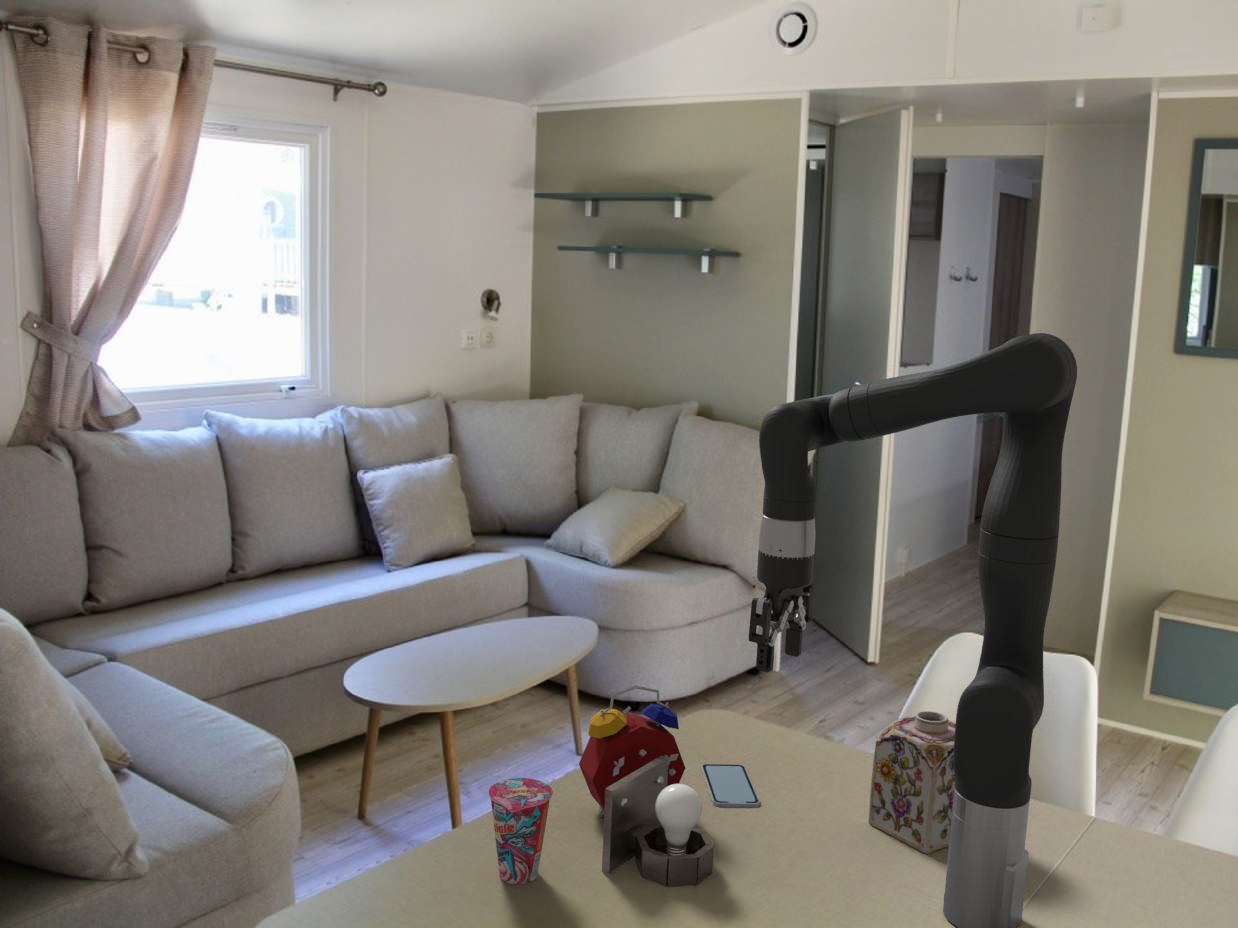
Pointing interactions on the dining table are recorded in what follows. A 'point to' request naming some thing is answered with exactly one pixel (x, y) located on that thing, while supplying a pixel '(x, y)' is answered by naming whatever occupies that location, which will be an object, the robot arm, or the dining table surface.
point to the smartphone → (730, 785)
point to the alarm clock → (628, 745)
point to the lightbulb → (678, 815)
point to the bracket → (649, 832)
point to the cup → (519, 826)
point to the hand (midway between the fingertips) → (778, 662)
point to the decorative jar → (915, 780)
